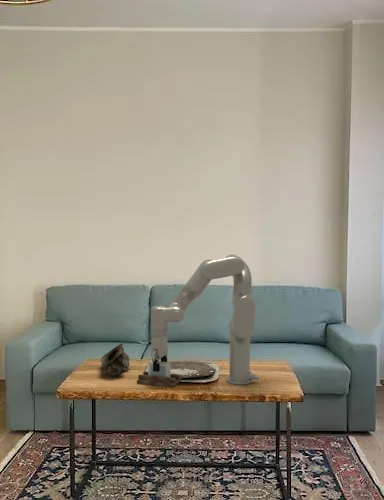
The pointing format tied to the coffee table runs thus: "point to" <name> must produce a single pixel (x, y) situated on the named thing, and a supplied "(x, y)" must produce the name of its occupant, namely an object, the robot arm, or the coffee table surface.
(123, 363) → the hollow geode rock
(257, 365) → the coffee table surface
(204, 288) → the robot arm
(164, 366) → the picture frame
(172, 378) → the picture ledge
